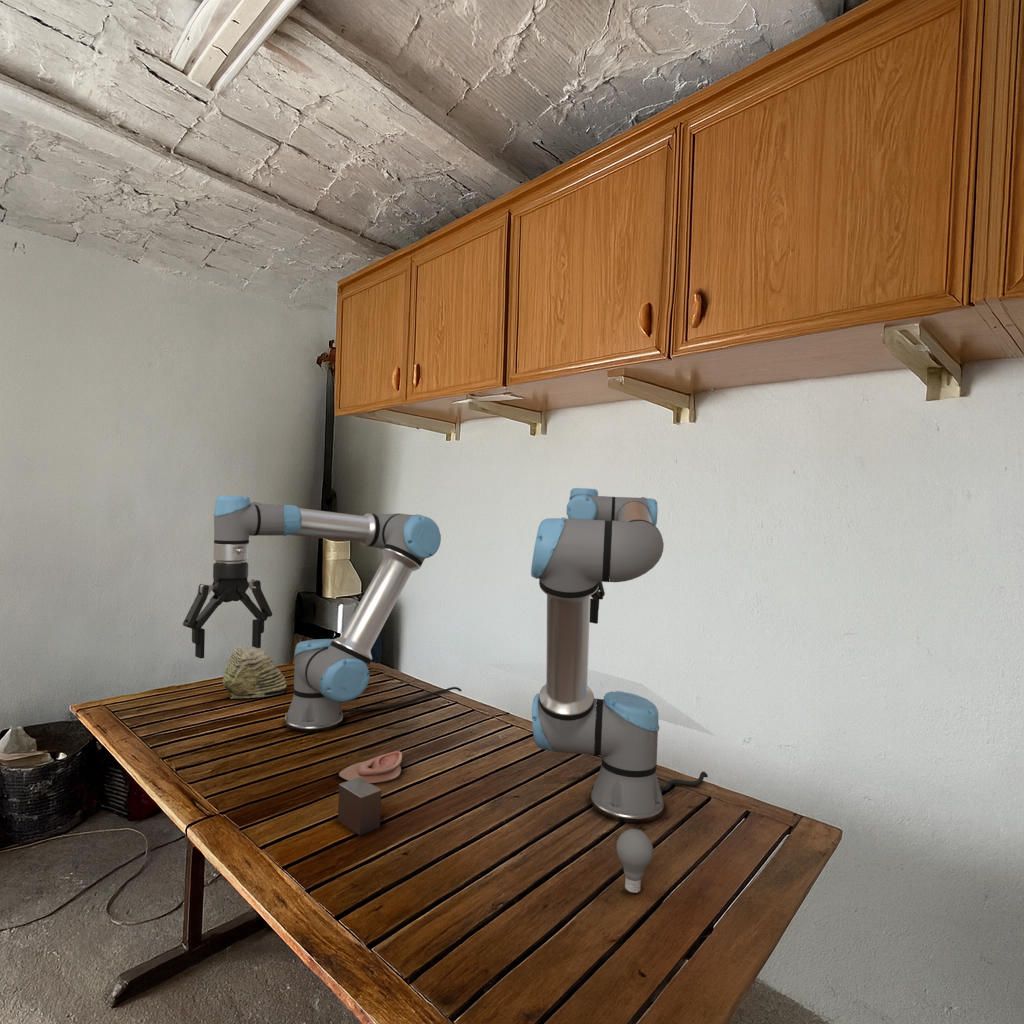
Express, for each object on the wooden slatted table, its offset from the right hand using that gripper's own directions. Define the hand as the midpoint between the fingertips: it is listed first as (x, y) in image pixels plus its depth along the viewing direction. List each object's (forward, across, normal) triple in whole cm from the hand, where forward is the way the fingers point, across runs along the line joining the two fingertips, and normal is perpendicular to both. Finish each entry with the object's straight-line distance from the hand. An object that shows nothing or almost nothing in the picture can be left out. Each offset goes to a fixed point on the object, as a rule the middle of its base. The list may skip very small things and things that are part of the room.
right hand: (578, 625), depth 169 cm
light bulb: (+32, -44, -46) cm, 71 cm away
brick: (+32, -65, +3) cm, 72 cm away
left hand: (+6, -72, +48) cm, 86 cm away
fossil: (+32, -44, +91) cm, 106 cm away
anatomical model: (+32, -51, +20) cm, 63 cm away
